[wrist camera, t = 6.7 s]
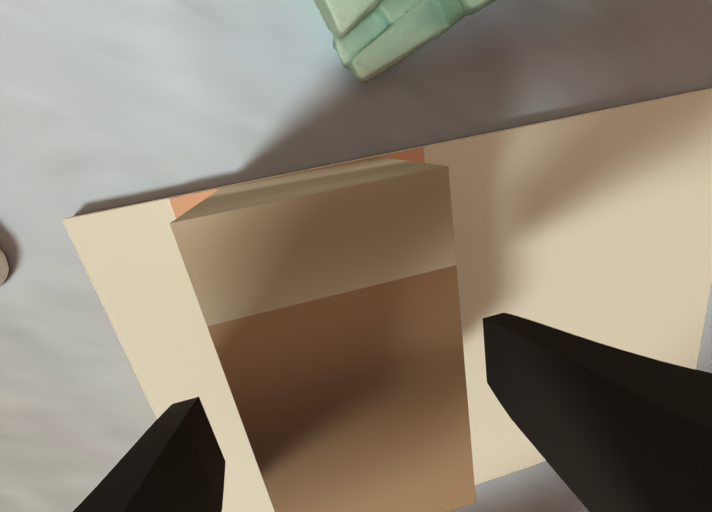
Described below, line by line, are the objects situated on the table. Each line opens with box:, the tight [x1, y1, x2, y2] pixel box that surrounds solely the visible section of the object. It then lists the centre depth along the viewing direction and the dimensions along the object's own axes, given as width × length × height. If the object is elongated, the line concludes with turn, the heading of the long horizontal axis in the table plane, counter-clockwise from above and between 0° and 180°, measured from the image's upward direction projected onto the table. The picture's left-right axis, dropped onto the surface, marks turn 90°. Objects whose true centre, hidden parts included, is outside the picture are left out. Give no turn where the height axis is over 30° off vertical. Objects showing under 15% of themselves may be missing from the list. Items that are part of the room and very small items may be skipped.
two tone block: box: [170, 157, 476, 512], centre depth 10 cm, size 9×5×5 cm, turn 10°
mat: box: [62, 88, 712, 512], centre depth 14 cm, size 24×16×1 cm, turn 100°
